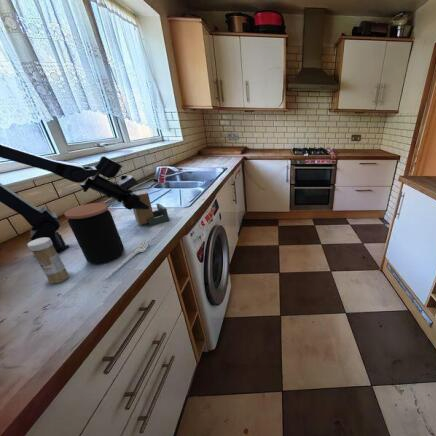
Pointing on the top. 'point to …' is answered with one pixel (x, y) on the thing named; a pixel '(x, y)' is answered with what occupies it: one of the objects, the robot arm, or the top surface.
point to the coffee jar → (95, 232)
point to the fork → (139, 249)
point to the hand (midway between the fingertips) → (146, 206)
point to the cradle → (159, 215)
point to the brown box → (143, 214)
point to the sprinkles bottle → (48, 259)
